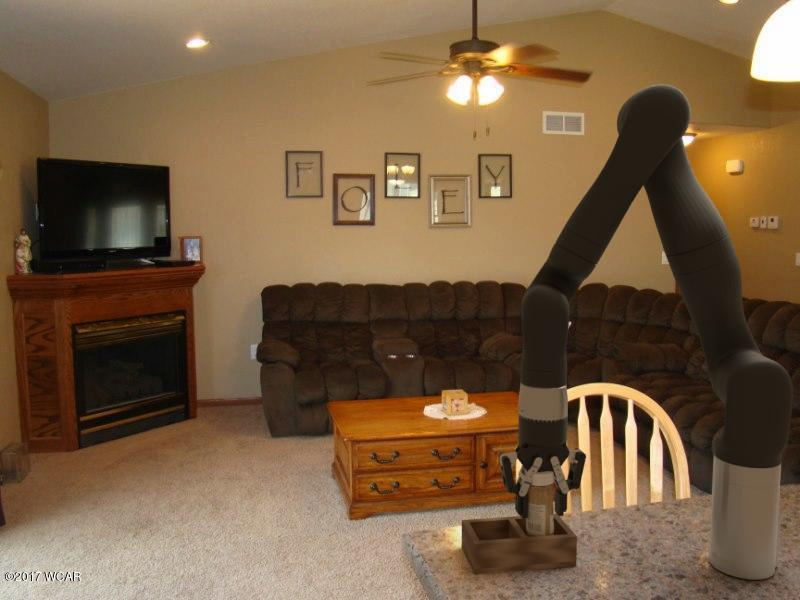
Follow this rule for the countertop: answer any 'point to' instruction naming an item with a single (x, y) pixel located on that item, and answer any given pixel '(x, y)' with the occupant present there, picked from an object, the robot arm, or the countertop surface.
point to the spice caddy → (516, 545)
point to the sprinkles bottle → (540, 505)
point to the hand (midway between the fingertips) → (541, 514)
